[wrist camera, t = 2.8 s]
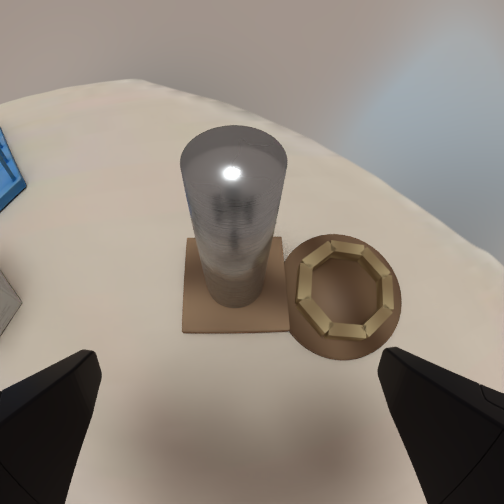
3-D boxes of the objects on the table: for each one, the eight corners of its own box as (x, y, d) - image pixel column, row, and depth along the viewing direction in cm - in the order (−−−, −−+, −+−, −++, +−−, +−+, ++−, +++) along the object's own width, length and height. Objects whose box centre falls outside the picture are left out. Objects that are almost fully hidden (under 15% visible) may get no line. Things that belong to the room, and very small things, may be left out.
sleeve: (228, 319, 22) (218, 218, 10) (195, 275, 23) (162, 151, 12) (274, 286, 23) (309, 167, 12) (240, 246, 25) (245, 114, 13)
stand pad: (288, 331, 22) (289, 329, 21) (183, 333, 22) (182, 331, 21) (280, 240, 26) (281, 236, 25) (188, 241, 25) (187, 237, 25)
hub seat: (337, 388, 20) (344, 387, 18) (248, 282, 24) (249, 273, 22) (419, 302, 23) (428, 296, 22) (341, 217, 27) (346, 207, 26)
